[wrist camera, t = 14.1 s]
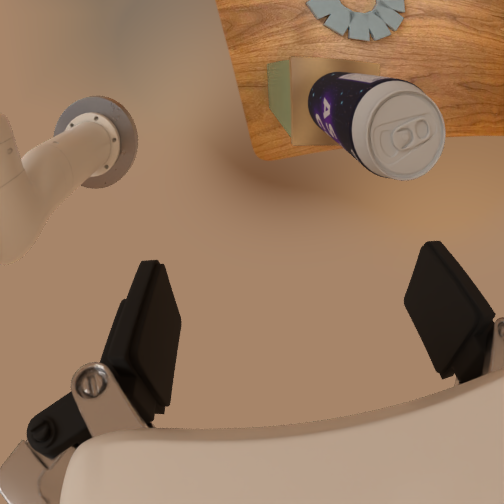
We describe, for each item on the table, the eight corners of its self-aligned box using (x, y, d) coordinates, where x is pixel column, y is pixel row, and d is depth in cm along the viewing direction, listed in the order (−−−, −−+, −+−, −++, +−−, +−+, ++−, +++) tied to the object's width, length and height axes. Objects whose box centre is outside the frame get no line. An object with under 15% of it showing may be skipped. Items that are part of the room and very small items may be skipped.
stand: (267, 109, 44) (292, 145, 24) (265, 62, 39) (290, 56, 20) (316, 108, 44) (376, 146, 24) (315, 63, 39) (380, 63, 19)
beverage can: (293, 87, 21) (339, 106, 11) (351, 61, 20) (433, 68, 10) (323, 143, 24) (380, 204, 14) (376, 118, 23) (459, 163, 13)
